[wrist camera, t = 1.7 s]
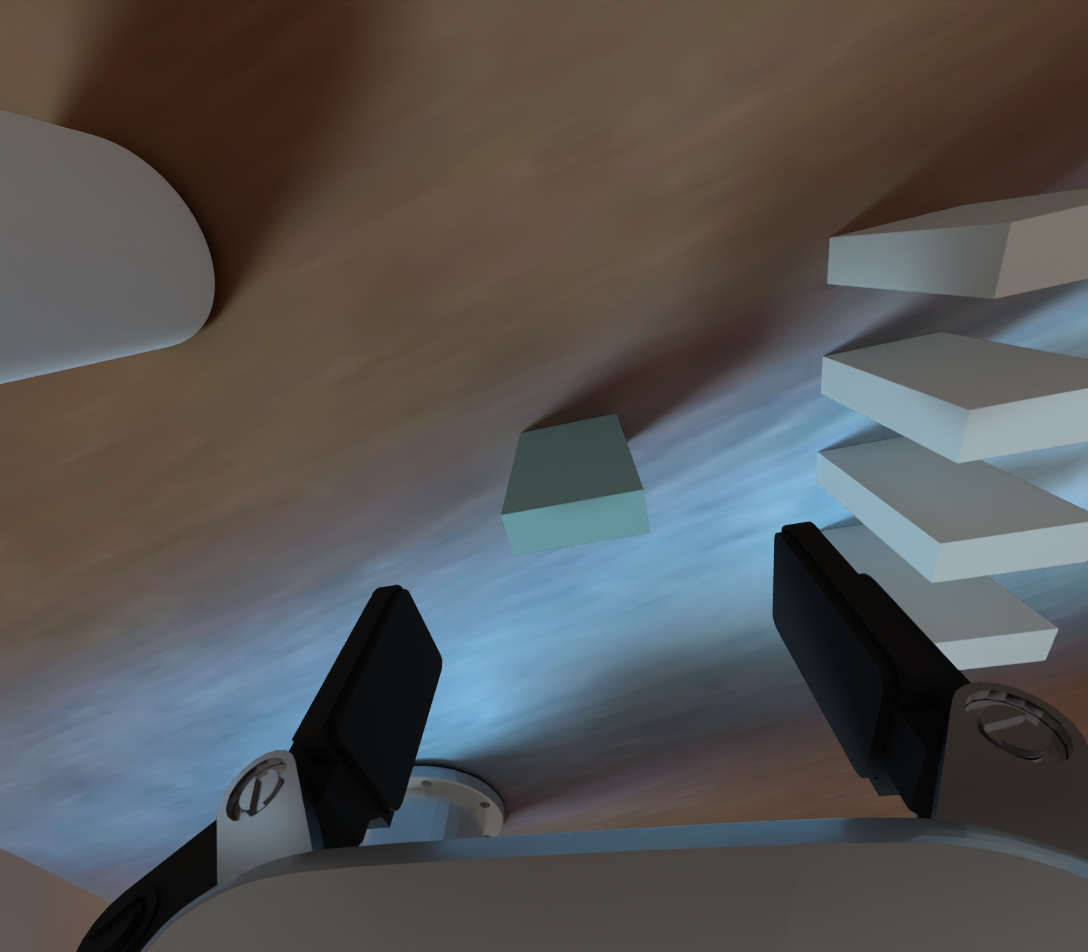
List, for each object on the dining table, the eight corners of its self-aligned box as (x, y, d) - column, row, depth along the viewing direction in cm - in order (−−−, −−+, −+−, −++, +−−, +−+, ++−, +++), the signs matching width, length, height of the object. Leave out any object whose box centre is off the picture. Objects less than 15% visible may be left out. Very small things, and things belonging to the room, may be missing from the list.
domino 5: (903, 543, 24) (1045, 660, 17) (811, 556, 25) (910, 675, 18) (908, 516, 24) (1058, 628, 16) (812, 532, 24) (917, 645, 17)
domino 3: (934, 370, 20) (1140, 432, 13) (820, 393, 21) (957, 463, 14) (940, 332, 19) (1165, 373, 12) (823, 356, 20) (968, 410, 13)
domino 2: (953, 254, 18) (1215, 251, 11) (827, 283, 18) (994, 299, 11) (962, 205, 17) (1251, 166, 10) (829, 237, 18) (1010, 222, 11)
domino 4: (917, 464, 22) (1087, 561, 15) (815, 482, 23) (931, 583, 16) (923, 432, 21) (1105, 519, 14) (817, 452, 22) (940, 543, 15)
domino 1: (621, 445, 22) (649, 533, 15) (528, 463, 23) (514, 555, 16) (616, 413, 21) (643, 489, 14) (520, 432, 22) (501, 515, 15)
